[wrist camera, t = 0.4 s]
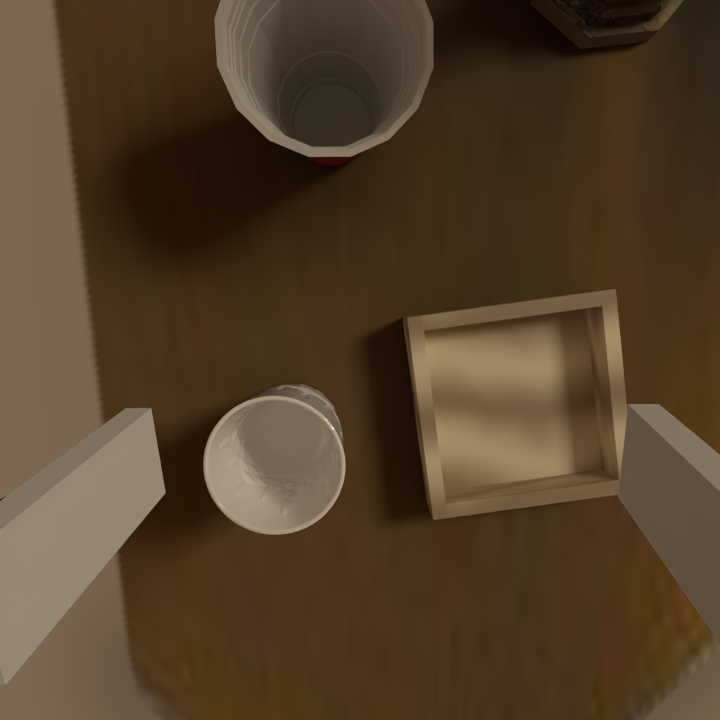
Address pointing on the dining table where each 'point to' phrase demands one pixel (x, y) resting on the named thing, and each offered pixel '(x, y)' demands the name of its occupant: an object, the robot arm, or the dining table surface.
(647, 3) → the bird statue
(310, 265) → the dining table surface
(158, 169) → the dining table surface
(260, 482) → the white cup
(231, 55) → the plastic cup
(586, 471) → the birch crate
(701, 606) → the robot arm
